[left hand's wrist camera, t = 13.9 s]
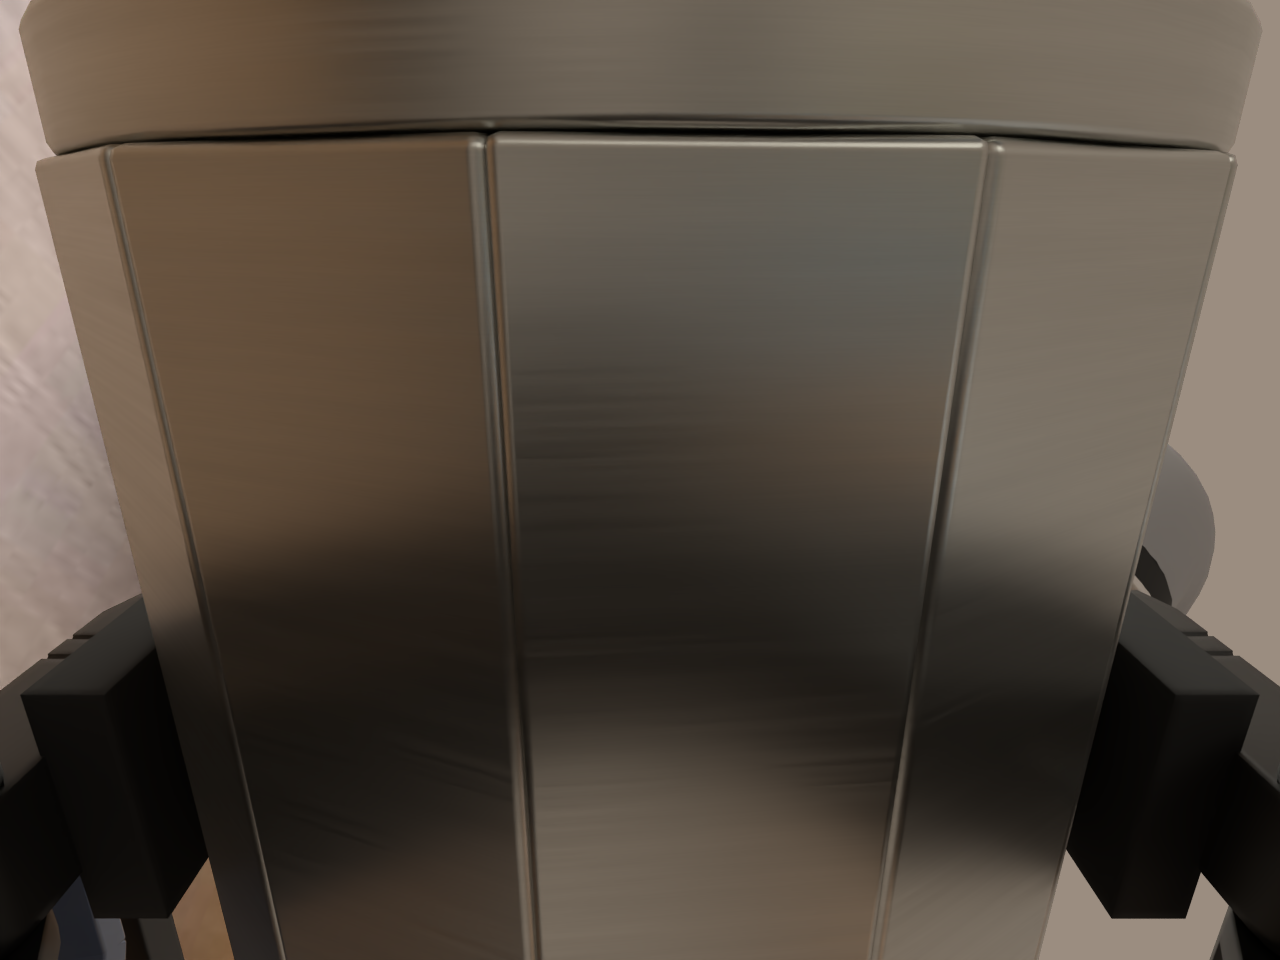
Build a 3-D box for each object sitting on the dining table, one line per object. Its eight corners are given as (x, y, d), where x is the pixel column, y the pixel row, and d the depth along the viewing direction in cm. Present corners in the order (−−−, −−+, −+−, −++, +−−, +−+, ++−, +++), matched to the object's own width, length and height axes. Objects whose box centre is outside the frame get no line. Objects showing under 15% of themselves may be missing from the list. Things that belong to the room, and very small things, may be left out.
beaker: (2053, -185, 2) (1127, 1605, 6) (1003, 124, 11) (905, 779, 15) (-567, -53, 3) (96, 1384, 7) (390, 131, 12) (452, 738, 16)
